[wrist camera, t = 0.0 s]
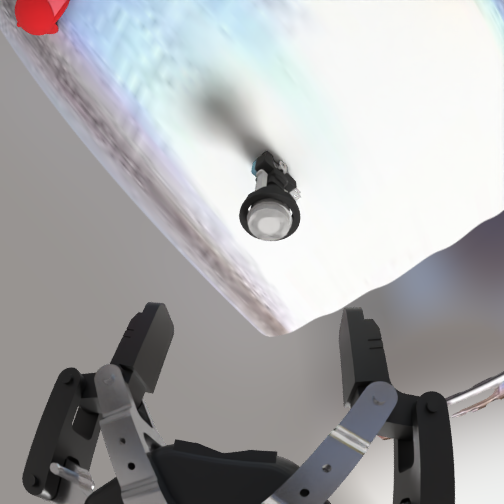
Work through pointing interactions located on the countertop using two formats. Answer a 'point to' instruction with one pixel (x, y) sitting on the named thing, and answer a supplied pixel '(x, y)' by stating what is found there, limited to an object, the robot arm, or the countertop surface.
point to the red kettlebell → (39, 15)
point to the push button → (271, 202)
